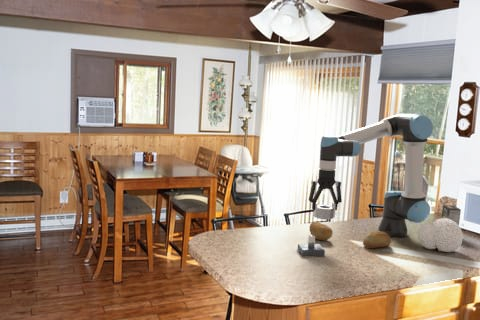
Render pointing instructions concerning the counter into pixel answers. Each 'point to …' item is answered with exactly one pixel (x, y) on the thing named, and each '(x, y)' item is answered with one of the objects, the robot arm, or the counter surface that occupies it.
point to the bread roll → (376, 239)
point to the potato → (320, 231)
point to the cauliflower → (441, 235)
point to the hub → (325, 212)
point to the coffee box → (451, 213)
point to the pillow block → (311, 248)
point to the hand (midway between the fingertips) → (324, 216)
